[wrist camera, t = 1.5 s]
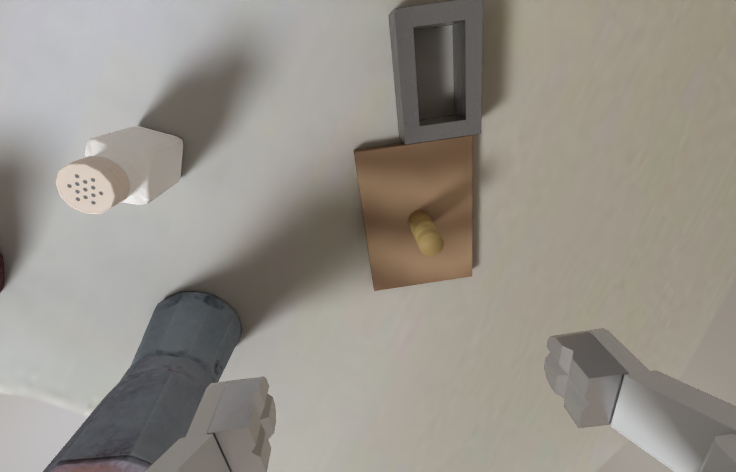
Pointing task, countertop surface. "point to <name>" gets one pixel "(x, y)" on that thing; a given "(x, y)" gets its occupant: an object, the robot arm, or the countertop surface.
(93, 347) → the countertop surface
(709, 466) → the robot arm
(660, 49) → the countertop surface
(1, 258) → the vegetable
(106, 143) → the pepper shaker
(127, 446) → the moka pot
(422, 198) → the keeper
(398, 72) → the link
